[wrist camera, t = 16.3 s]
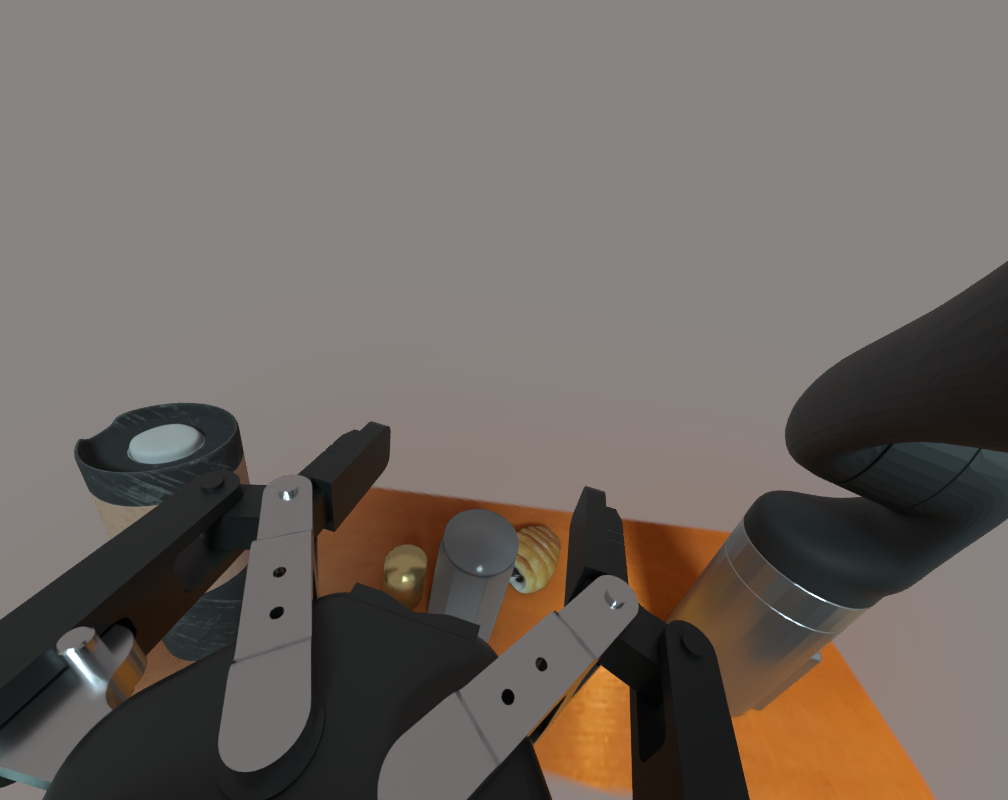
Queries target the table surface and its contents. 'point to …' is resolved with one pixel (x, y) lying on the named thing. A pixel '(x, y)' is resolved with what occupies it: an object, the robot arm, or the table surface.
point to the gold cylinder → (405, 574)
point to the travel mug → (155, 477)
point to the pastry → (535, 558)
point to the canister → (474, 568)
